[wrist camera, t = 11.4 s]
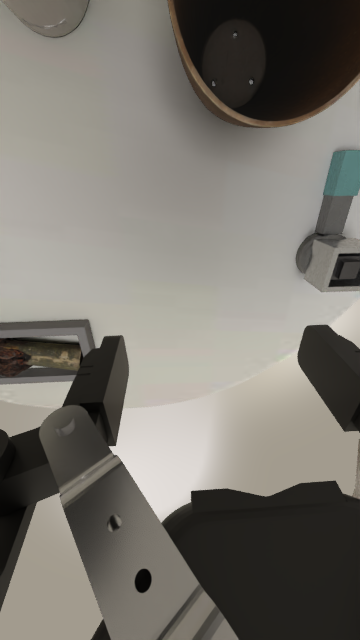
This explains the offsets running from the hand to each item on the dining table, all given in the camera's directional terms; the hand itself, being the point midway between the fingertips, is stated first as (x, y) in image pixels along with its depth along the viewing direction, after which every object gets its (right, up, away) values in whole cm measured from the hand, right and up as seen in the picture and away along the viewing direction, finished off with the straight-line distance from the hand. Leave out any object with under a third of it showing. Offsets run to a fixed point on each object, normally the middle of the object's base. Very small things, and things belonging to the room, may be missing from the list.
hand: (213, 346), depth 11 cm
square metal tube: (+21, +10, +26) cm, 35 cm away
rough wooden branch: (-28, -4, +35) cm, 45 cm away
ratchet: (+20, +16, +26) cm, 37 cm away
